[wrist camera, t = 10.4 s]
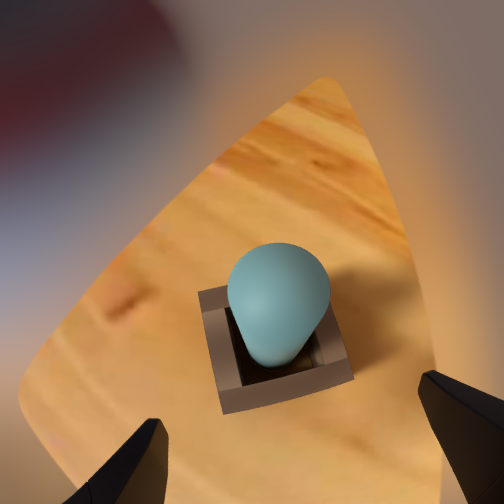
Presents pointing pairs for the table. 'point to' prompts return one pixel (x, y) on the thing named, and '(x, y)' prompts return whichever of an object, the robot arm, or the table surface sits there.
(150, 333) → the table surface
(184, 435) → the table surface
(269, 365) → the teal cylinder rod
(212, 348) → the hole block
